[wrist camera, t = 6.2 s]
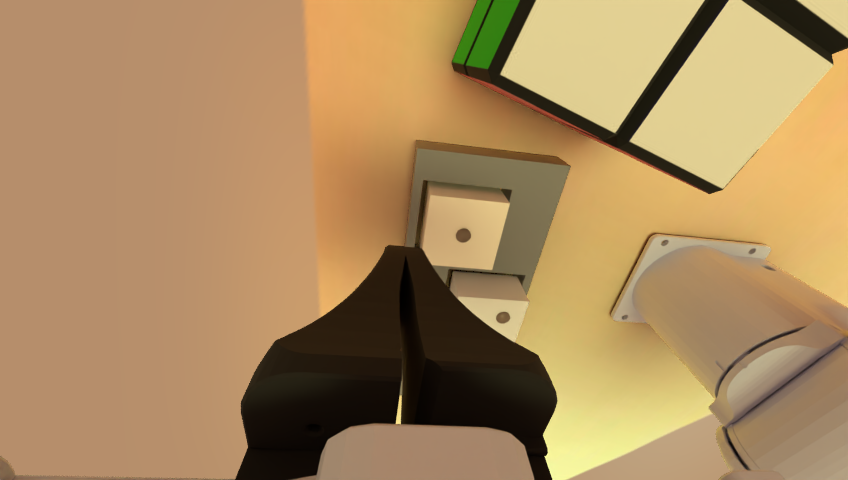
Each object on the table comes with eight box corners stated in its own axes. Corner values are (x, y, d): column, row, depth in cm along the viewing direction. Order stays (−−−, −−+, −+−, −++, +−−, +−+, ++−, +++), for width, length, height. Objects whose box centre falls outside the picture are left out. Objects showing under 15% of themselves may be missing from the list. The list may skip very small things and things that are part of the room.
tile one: (498, 186, 22) (510, 204, 19) (483, 247, 24) (492, 271, 21) (427, 178, 21) (430, 196, 19) (418, 242, 24) (420, 265, 21)
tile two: (516, 276, 24) (529, 302, 21) (501, 325, 26) (511, 354, 24) (452, 270, 23) (458, 297, 21) (442, 321, 26) (446, 350, 23)
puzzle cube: (592, 139, 21) (722, 200, 12) (448, 68, 19) (483, 82, 10) (715, -50, 17) (1047, -159, 8) (547, -172, 15) (759, -507, 6)
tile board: (557, 156, 21) (570, 166, 20) (486, 379, 31) (491, 399, 30) (416, 140, 21) (417, 148, 19) (389, 375, 31) (388, 394, 29)
